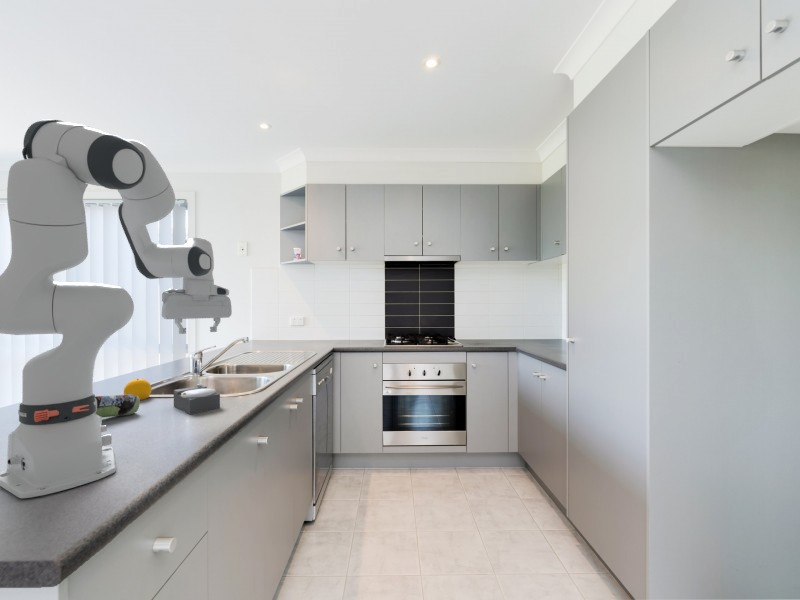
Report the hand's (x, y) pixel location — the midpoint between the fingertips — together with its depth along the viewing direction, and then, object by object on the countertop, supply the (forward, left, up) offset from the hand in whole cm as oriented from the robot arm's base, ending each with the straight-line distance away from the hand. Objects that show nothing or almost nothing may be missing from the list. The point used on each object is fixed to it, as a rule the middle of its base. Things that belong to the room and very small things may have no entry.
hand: (198, 332), depth 119 cm
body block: (+2, 0, -24) cm, 24 cm away
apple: (+28, +9, -25) cm, 38 cm away
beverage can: (+8, +26, -21) cm, 34 cm away
